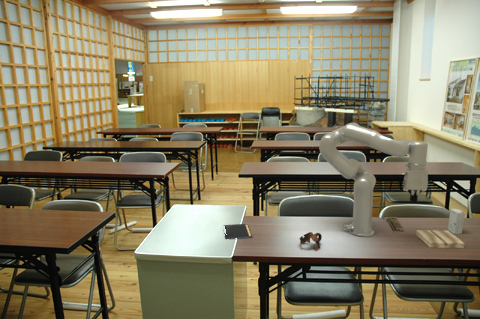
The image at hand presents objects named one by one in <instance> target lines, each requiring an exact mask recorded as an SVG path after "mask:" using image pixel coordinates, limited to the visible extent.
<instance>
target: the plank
mask: <svg viewBox="0 0 480 319" xmlns="http://www.w3.org/2000/svg"><path fill="white" fill-rule="evenodd" d="M430 230H431V229H430ZM430 230H429V229H428V230H427V229H426V230H425V229H421V230H419V229H417V230H416V231H415V235H416V236H417V237H418V238H420V240H421V241H422V242H424V244H426V245H427V246H428V248H430V249H431V248H434V249H436V248H438V249H442V248H443V249H448V248H447V244H445V243H444V242H443V241H442V240H440V239H439V238H438V237H437V236H436V235H435V234H433V233H432V232H431V231H430Z"/></svg>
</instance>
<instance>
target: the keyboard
mask: <svg viewBox="0 0 480 319" xmlns="http://www.w3.org/2000/svg"><path fill="white" fill-rule="evenodd" d="M384 218H385V219H384ZM382 219H383V220H386V222H387V223H388V226H389V227H390V229H391V230H392V232H394V233H405V230H404V227H403V225H402V224H401V223H400V222H399V219H398V218H397V217H396V216H388V217H387V216H386V217H382Z"/></svg>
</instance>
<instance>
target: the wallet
mask: <svg viewBox="0 0 480 319" xmlns="http://www.w3.org/2000/svg"><path fill="white" fill-rule="evenodd" d="M223 226H225V229H226V234H227V235H226V234H225V233H224V232H223V234H225V236H224V239H225V240H227V239H229V240H242V239H244V240H245V239H253V238H254V236H253V235H252V233H251V229H250V226H249V224H247V223H238V224H237V223H235V224H224V225H223ZM235 238H237V239H235Z"/></svg>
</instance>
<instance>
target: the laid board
mask: <svg viewBox="0 0 480 319" xmlns="http://www.w3.org/2000/svg"><path fill="white" fill-rule="evenodd" d="M430 231H431V232H432V233H433V234H435V235H436V236H437V237H438V238H439V239H440V240H442V241H443V242H444V243H445V244H447V248H446V249H465V244H466V243H465V242H464V241H462V240H461V239H460V238H458V237H457V236H456V235H455V234H454V233H452V232H450V231H449V230H448V229H447V230H446V229H445V230H442V229H441V230H437V229H436V230H434V229H433V230H432V229H430Z"/></svg>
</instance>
